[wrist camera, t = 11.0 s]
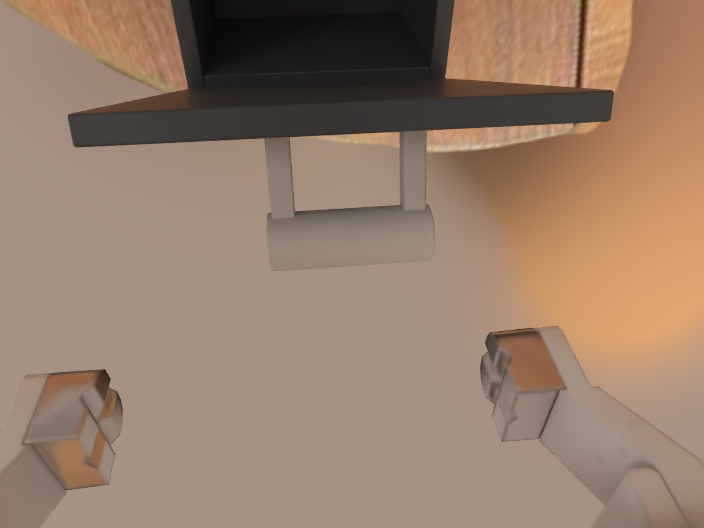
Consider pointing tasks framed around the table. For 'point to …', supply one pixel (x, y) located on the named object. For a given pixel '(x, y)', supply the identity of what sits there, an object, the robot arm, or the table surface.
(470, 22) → the table surface
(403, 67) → the dark grey box
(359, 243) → the lid
